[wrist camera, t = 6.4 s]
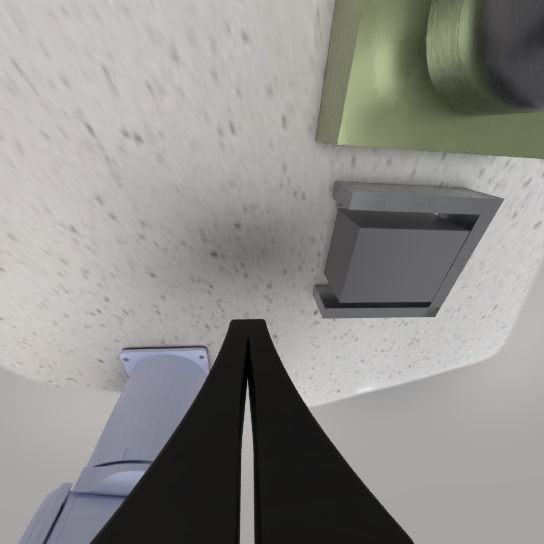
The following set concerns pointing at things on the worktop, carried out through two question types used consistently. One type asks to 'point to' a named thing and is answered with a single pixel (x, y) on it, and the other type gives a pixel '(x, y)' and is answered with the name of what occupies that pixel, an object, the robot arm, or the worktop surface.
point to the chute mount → (431, 108)
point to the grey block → (390, 255)
